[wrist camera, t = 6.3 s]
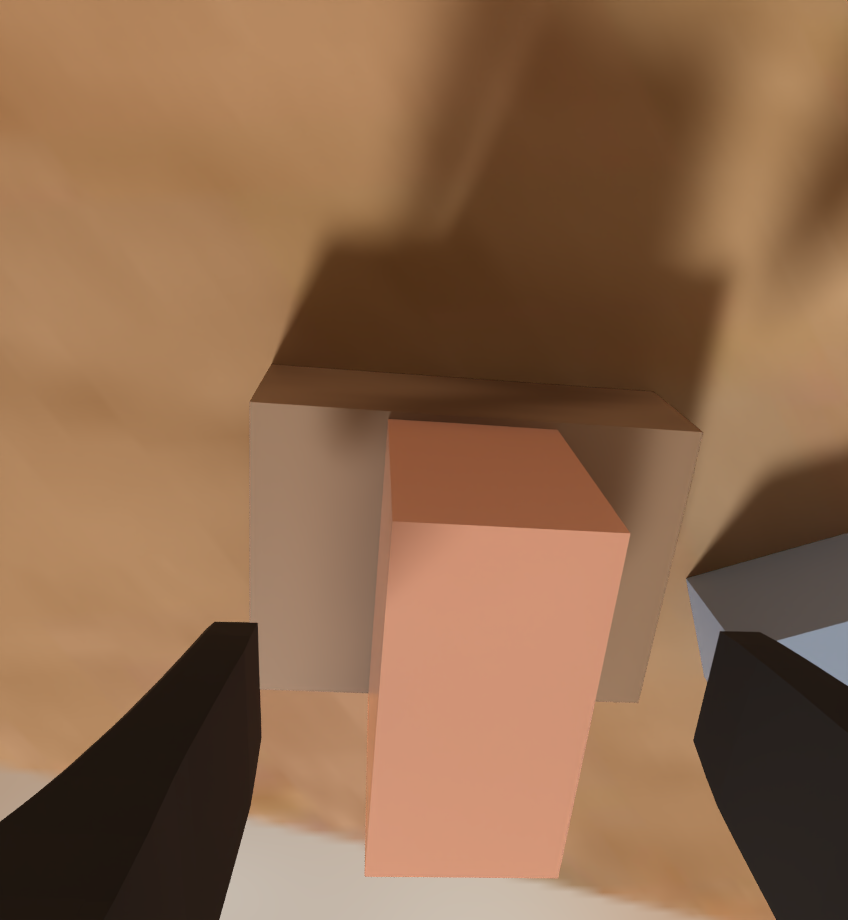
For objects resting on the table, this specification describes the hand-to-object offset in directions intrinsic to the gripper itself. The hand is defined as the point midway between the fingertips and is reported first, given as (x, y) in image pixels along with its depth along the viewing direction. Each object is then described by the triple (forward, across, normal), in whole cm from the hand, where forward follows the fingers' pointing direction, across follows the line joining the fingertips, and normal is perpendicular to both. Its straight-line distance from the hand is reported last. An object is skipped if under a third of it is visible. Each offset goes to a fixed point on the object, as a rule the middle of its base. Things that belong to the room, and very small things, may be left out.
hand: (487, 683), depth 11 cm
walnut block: (+6, 0, 0) cm, 6 cm away
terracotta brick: (+3, 0, 0) cm, 3 cm away
